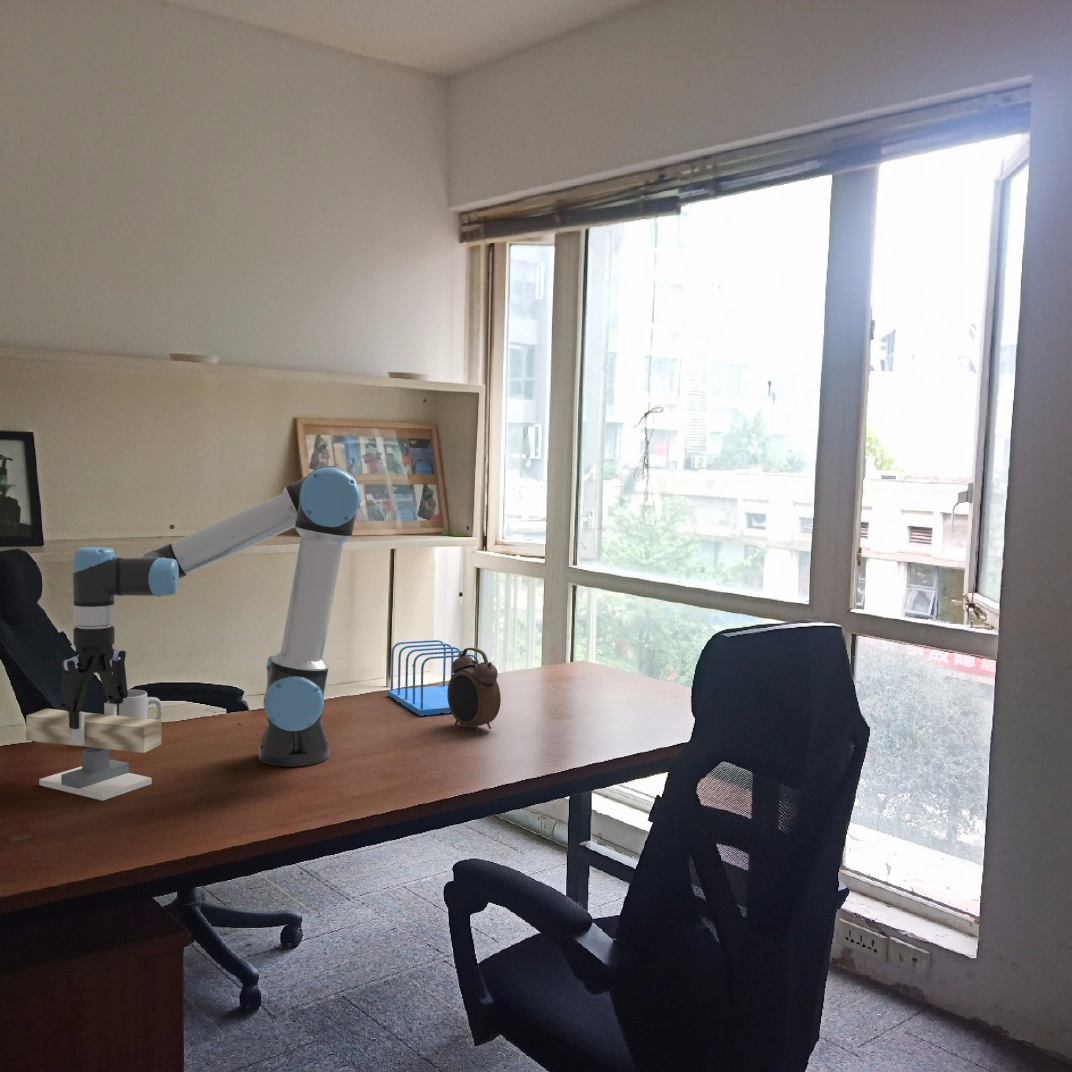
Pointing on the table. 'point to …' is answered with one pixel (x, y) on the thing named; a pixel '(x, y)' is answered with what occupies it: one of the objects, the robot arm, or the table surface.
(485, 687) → the alarm clock
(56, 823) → the table surface
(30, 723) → the oak bar
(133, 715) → the mug
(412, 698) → the file sorter
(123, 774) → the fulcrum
